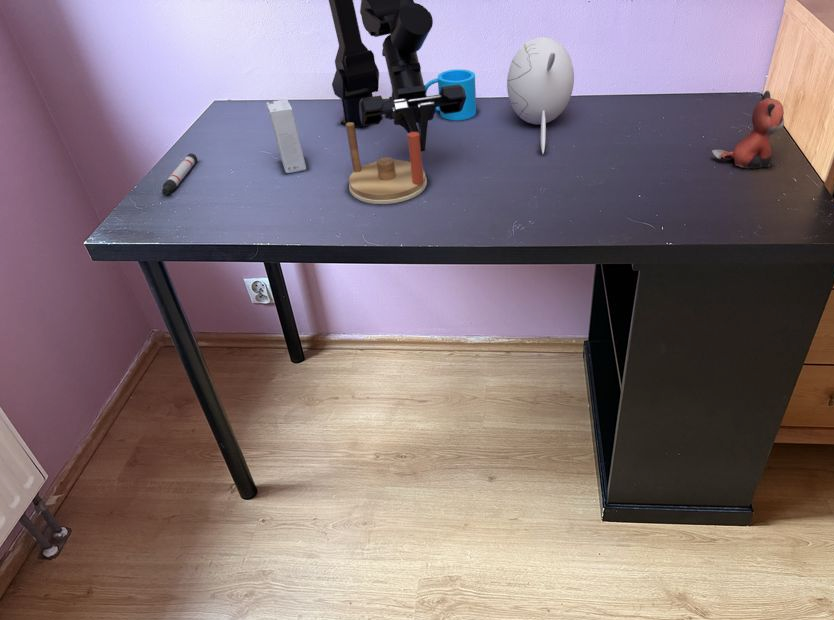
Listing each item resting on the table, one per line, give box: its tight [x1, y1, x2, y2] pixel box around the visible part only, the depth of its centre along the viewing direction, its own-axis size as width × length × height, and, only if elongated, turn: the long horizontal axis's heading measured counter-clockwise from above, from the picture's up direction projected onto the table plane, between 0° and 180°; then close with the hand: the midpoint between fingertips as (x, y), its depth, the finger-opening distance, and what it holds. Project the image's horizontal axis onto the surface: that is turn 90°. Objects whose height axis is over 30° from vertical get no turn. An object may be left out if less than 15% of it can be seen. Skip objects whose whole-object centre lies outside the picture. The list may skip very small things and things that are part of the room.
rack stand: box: [348, 175, 428, 205], centre depth 122 cm, size 14×14×1 cm
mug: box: [424, 68, 477, 121], centre depth 145 cm, size 12×8×8 cm
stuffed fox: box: [711, 90, 785, 170], centre depth 120 cm, size 8×11×12 cm
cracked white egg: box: [506, 36, 575, 155], centre depth 134 cm, size 19×14×25 cm
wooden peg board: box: [345, 122, 426, 200], centre depth 119 cm, size 14×14×10 cm
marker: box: [161, 153, 198, 195], centre depth 127 cm, size 15×2×2 cm, turn 178°
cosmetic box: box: [266, 98, 307, 174], centre depth 126 cm, size 6×4×12 cm
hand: (422, 151), depth 117 cm, fingers closed
